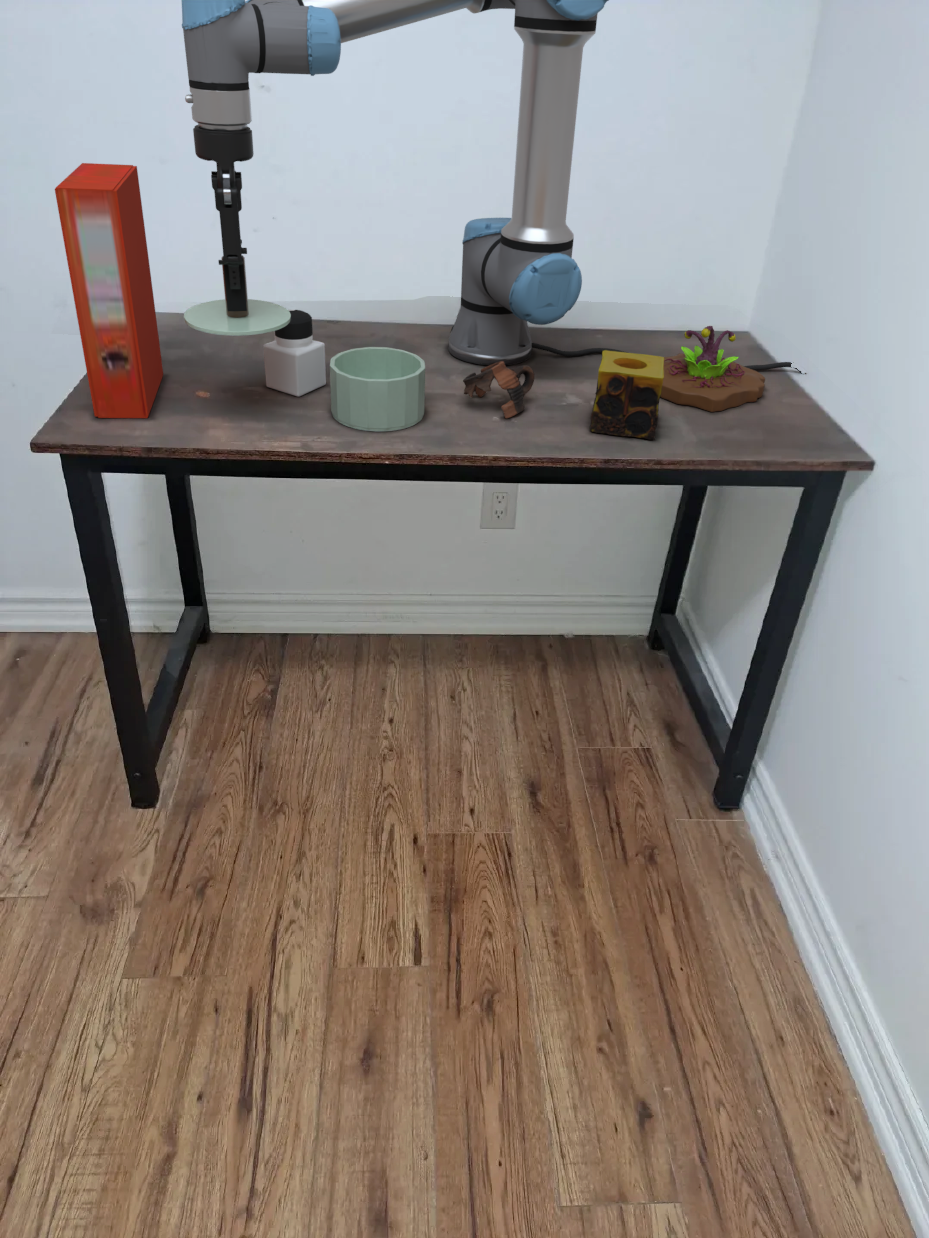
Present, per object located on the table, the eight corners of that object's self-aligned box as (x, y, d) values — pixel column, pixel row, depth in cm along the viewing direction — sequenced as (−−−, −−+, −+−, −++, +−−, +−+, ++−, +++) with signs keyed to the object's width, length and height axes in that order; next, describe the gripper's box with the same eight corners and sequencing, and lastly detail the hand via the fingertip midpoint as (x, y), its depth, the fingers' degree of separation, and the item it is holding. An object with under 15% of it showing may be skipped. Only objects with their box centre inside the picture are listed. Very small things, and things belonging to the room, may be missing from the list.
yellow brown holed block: (654, 442, 144) (665, 379, 138) (588, 433, 145) (597, 371, 139) (656, 416, 152) (667, 356, 146) (594, 408, 153) (602, 348, 147)
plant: (620, 384, 162) (630, 320, 156) (680, 359, 175) (692, 298, 168) (721, 420, 152) (736, 352, 145) (778, 390, 164) (794, 327, 157)
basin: (401, 390, 156) (402, 343, 151) (438, 423, 145) (440, 374, 141) (319, 401, 150) (316, 352, 145) (351, 437, 140) (350, 386, 135)
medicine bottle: (327, 385, 156) (324, 312, 149) (298, 397, 151) (294, 323, 144) (294, 374, 159) (290, 303, 152) (265, 387, 154) (259, 313, 147)
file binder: (165, 376, 155) (136, 164, 137) (150, 418, 142) (116, 189, 123) (115, 375, 154) (78, 163, 136) (95, 418, 140) (51, 187, 122)
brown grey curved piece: (495, 427, 146) (473, 378, 144) (468, 431, 155) (447, 384, 152) (554, 395, 150) (534, 346, 148) (525, 400, 159) (506, 354, 156)
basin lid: (273, 303, 146) (269, 241, 140) (305, 334, 135) (302, 268, 129) (174, 311, 140) (166, 247, 134) (198, 345, 129) (191, 276, 123)
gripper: (194, 115, 128) (211, 290, 142) (190, 134, 115) (209, 324, 129) (250, 117, 130) (262, 289, 143) (253, 136, 117) (265, 324, 130)
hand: (237, 306), depth 136 cm, fingers closed on basin lid, 3 cm apart
